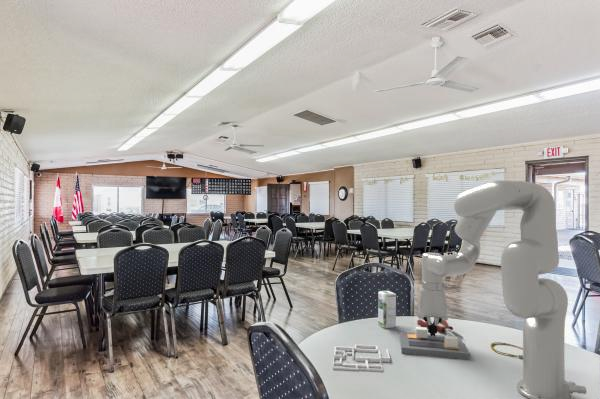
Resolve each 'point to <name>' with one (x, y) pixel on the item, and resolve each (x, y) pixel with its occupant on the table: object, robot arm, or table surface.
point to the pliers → (441, 328)
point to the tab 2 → (451, 341)
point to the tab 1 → (421, 332)
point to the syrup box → (386, 309)
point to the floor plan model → (359, 358)
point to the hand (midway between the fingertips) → (432, 334)
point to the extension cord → (506, 353)
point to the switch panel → (431, 346)
